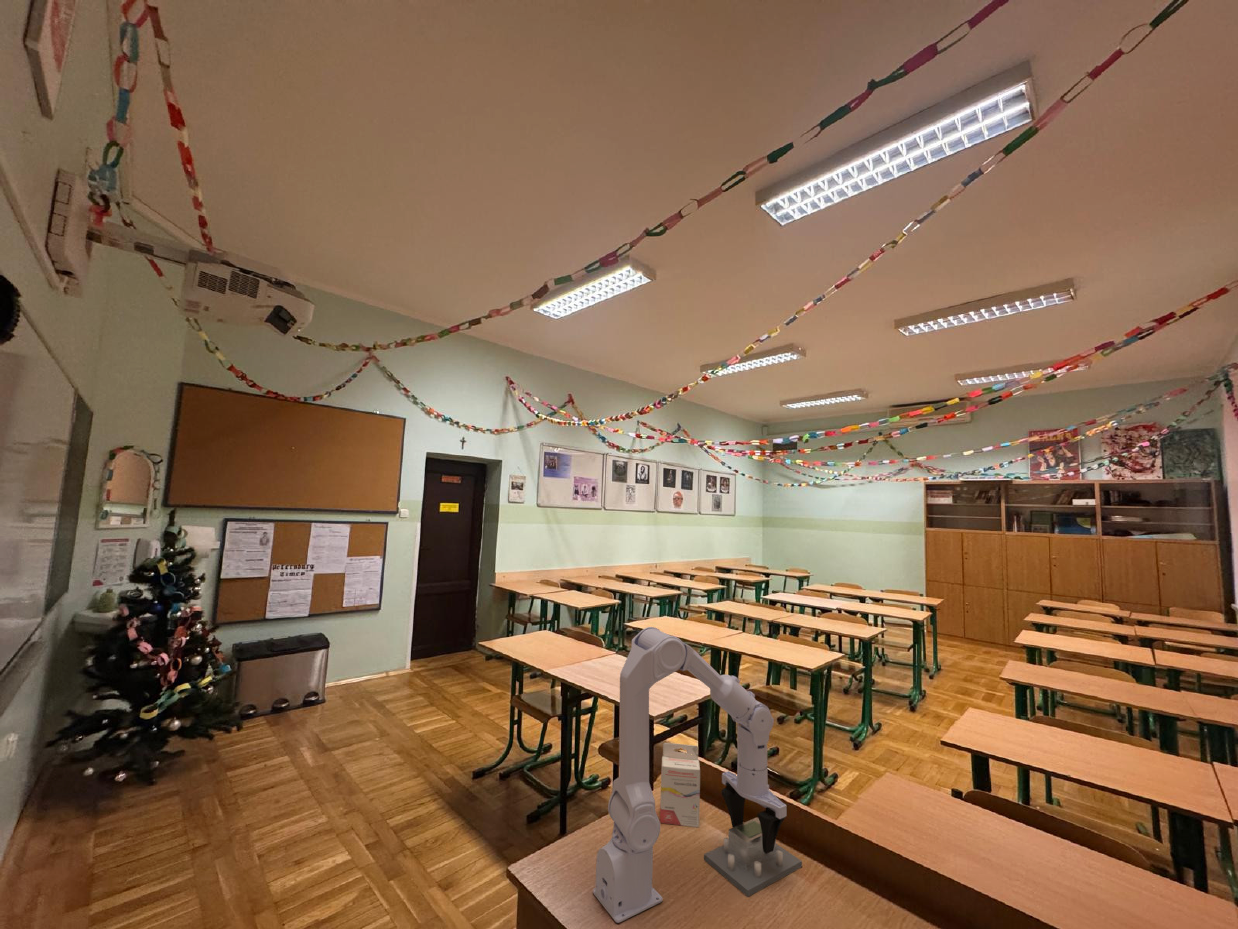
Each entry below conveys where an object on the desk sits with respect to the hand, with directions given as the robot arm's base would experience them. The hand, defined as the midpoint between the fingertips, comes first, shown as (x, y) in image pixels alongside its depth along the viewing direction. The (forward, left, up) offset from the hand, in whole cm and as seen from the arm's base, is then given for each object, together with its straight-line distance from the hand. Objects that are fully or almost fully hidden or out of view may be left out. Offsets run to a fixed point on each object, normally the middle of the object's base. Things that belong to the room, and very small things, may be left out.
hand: (752, 839), depth 92 cm
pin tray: (0, 0, -4) cm, 4 cm away
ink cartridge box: (-3, +18, -4) cm, 19 cm away
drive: (0, 0, -3) cm, 3 cm away
